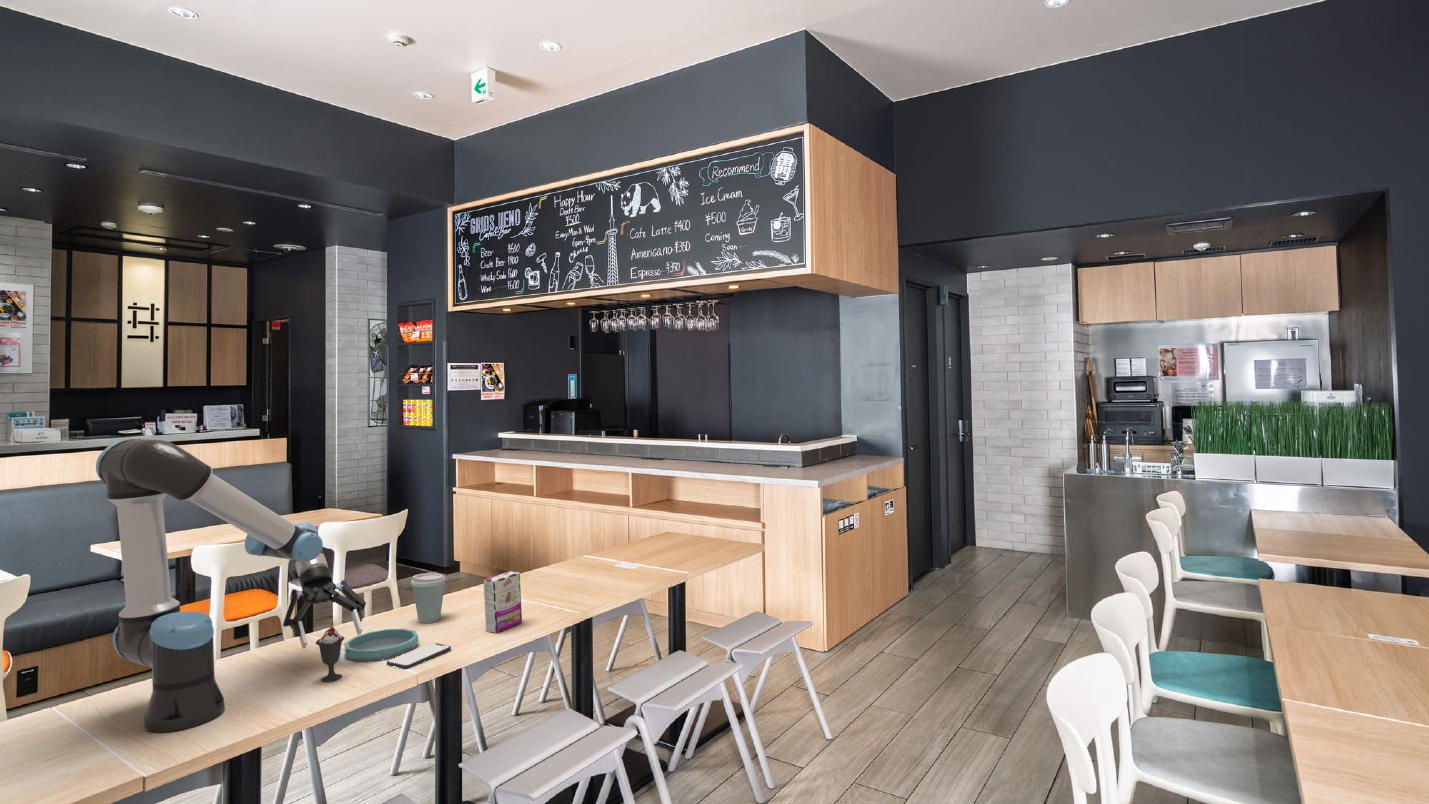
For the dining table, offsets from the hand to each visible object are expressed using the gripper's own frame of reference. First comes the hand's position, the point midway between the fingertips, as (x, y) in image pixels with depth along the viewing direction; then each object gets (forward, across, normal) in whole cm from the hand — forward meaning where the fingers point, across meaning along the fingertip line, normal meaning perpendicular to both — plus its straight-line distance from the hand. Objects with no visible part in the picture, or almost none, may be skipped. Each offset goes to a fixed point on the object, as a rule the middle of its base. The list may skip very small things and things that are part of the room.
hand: (333, 638), depth 193 cm
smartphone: (+11, -21, -4) cm, 24 cm away
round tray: (0, -16, -14) cm, 21 cm away
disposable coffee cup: (-12, -37, -26) cm, 47 cm away
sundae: (+9, +1, -5) cm, 10 cm away
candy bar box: (+6, -50, -8) cm, 51 cm away
